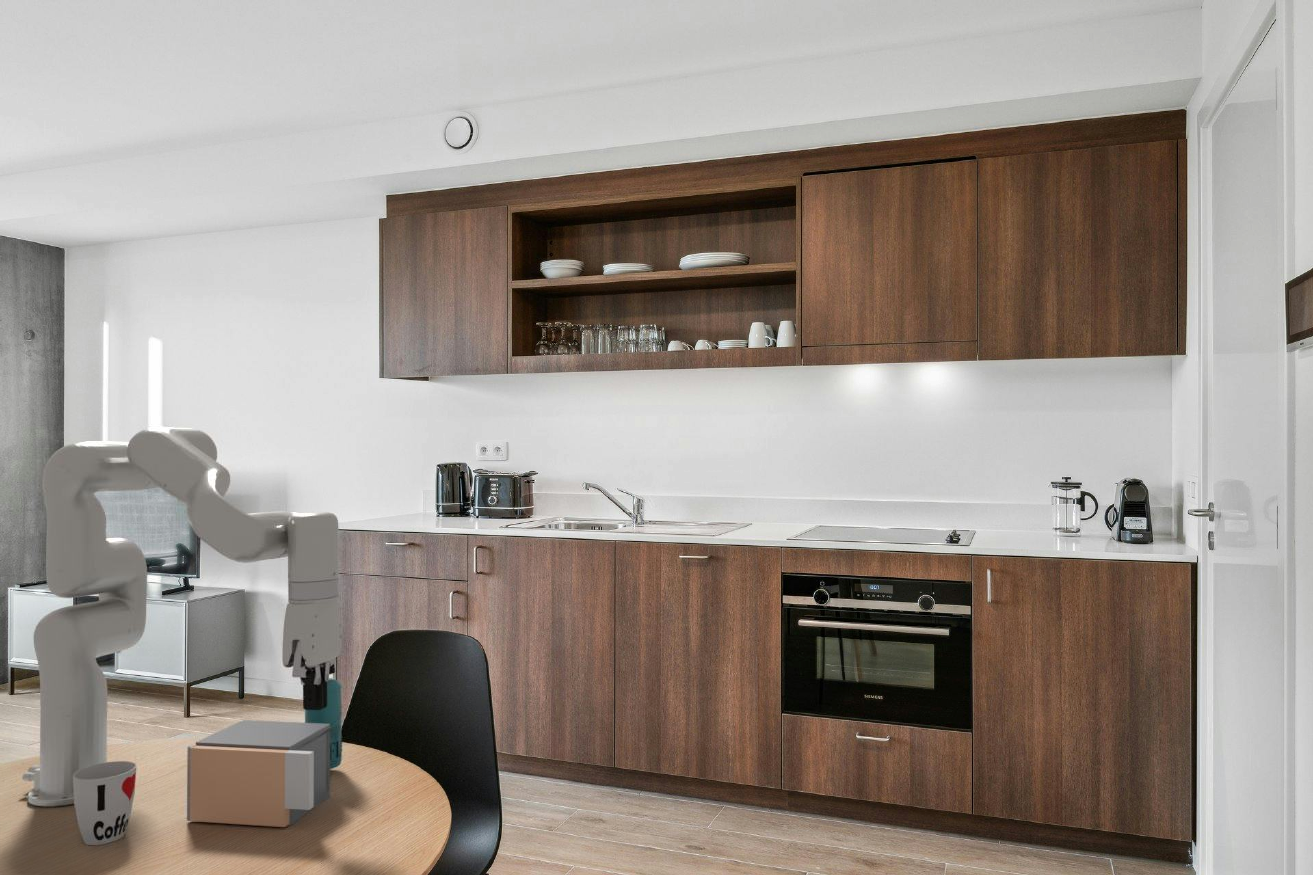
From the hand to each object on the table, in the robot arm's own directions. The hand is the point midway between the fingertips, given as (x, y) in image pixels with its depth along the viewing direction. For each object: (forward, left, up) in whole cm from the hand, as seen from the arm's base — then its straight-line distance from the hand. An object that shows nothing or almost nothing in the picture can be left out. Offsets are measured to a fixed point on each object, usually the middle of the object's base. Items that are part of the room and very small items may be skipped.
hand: (315, 708), depth 138 cm
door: (-9, -4, -17) cm, 19 cm away
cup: (-28, -11, -18) cm, 34 cm away
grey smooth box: (-11, +3, -17) cm, 21 cm away
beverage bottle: (-10, +19, -18) cm, 28 cm away
